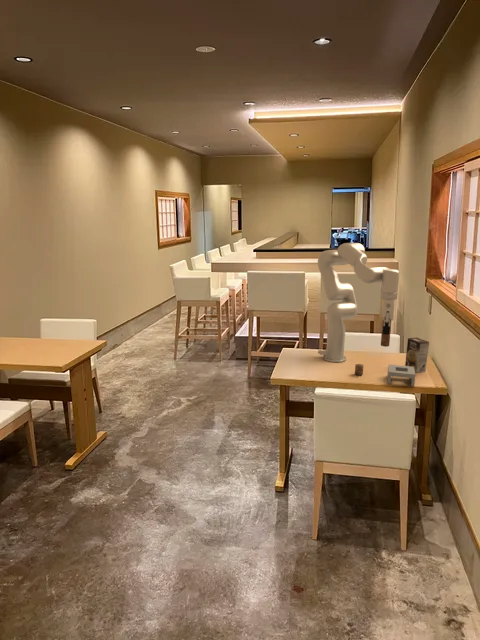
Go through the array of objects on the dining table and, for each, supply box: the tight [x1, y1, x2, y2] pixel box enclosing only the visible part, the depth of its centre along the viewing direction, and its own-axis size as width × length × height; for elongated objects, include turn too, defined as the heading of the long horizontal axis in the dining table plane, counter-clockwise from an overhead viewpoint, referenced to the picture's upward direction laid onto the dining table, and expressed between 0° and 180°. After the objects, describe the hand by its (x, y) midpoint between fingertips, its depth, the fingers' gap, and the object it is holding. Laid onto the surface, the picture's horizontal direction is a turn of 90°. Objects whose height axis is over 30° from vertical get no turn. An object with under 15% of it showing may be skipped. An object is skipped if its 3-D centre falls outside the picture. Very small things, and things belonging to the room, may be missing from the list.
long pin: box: [380, 317, 392, 347], centre depth 241 cm, size 4×4×15 cm
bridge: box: [387, 363, 416, 387], centre depth 244 cm, size 12×12×6 cm
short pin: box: [354, 363, 364, 377], centre depth 252 cm, size 4×4×5 cm
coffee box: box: [404, 336, 430, 374], centre depth 261 cm, size 9×6×16 cm
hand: (386, 332), depth 242 cm, fingers closed on long pin, 4 cm apart
